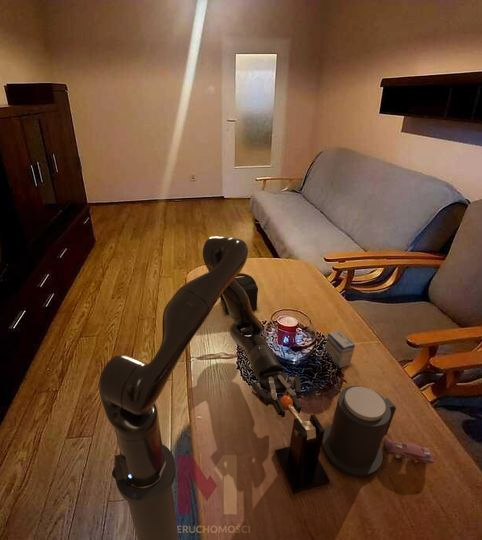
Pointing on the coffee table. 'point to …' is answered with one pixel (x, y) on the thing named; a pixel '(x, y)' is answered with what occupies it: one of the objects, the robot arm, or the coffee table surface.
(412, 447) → the pink elongated piece
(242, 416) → the coffee table surface
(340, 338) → the medicine box
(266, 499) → the coffee table surface
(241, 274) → the camera
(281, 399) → the orange knob lever
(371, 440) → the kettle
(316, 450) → the switch stand
